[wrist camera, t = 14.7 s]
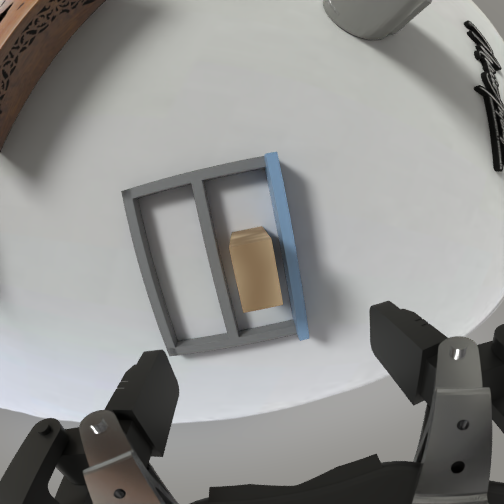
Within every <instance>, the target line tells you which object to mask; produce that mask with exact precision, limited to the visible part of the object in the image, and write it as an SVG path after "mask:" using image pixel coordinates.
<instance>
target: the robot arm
mask: <svg viewBox="0 0 504 504" xmlns="http://www.w3.org/2000/svg"><path fill="white" fill-rule="evenodd" d="M431 2H432V0H323V6H324V9H325V11H326V13H327V14H328V16H329V17H330V18H331V19H332V21H333V22H335V23H336V24H337V25H338V26H339V27H341V28H342V29H344V30H345V31H347V32H349V33H351V34H352V35H355V36H357V37H360V38H364V39H369V40H379V39H382V38H385V37H386V36H387V35H388V34H396V33H397V32H398V31H399V30H400V29H402V28H403V27H404V26H405V25H406V24H407V23H408V22H409V21H411V20H412V19H413V18H414V17H415V16H416V15H417V14H419V13H420V12H421V11H422V10H423V9H424V8H426V7H427V6H428V5H429V4H430V3H431ZM370 343H371V348H372V351H373V353H374V355H375V356H376V357H377V359H378V360H379V361H380V363H381V364H382V365H383V366H384V368H385V369H386V370H387V372H388V373H389V374H390V375H391V377H392V378H393V379H394V381H395V382H396V383H397V384H398V386H399V387H400V388H401V390H402V391H403V392H404V393H405V395H406V396H407V398H408V399H409V400H410V402H412V404H413V405H415V404H418V403H420V402H422V401H424V400H425V401H426V402H427V407H426V411H425V416H424V421H423V426H422V431H421V435H420V440H419V444H418V447H417V451H416V454H415V457H414V461H413V462H408V461H392V462H383V463H381V462H380V460H379V458H378V456H377V454H374V455H371V456H369V457H366V458H363V459H360V460H357V461H354V462H351V463H348V464H345V465H342V466H338V467H336V468H334V469H332V470H330V471H328V472H326V473H324V474H322V475H320V476H317V477H315V478H313V479H311V480H309V481H307V482H304V483H302V484H299V485H296V486H270V485H269V486H268V485H254V484H248V485H237V486H223V487H210V489H209V497H208V498H204V499H201V500H198V501H195V502H193V503H190V504H504V483H500V482H495V481H489V477H490V467H491V454H492V420H493V421H494V422H495V423H496V424H497V426H498V427H499V428H500V429H501V431H502V432H503V433H504V324H502V325H500V326H498V327H497V328H496V330H495V333H494V337H493V341H490V342H487V343H483V344H479V345H477V344H476V343H475V342H474V341H473V340H471V339H469V338H466V337H460V336H457V337H451V338H447V337H446V336H445V335H443V334H442V333H441V332H440V331H438V330H437V329H436V328H434V327H433V326H432V325H430V324H428V322H426V321H425V320H424V319H422V318H421V317H420V316H418V315H417V314H416V313H414V312H412V311H409V310H406V309H399V308H398V307H397V306H396V305H394V304H393V303H392V302H390V301H386V302H383V303H379V304H376V305H373V306H371V307H370ZM178 397H179V386H178V382H177V379H176V377H175V375H174V372H173V370H172V368H171V365H170V363H169V360H168V358H167V356H166V353H165V352H164V351H163V350H155V351H146V352H143V354H142V356H141V357H140V359H139V361H138V363H137V365H134V366H132V367H131V368H130V369H129V370H128V371H127V372H126V373H125V375H124V376H123V378H122V380H121V382H120V383H119V385H118V387H117V389H116V390H115V392H114V394H113V395H112V397H111V399H110V401H109V403H108V404H107V406H106V408H105V410H99V411H95V412H93V413H90V414H89V415H87V416H86V417H85V418H84V419H83V420H82V421H81V423H80V426H79V427H78V428H71V429H64V428H63V427H62V425H61V424H60V422H59V421H58V420H56V419H54V418H47V419H44V420H42V421H40V422H38V423H37V424H36V425H35V426H34V427H33V428H32V430H31V431H30V433H29V434H28V436H27V437H26V439H25V440H24V442H23V444H22V445H21V447H20V448H19V450H18V452H17V453H16V455H15V457H14V458H13V460H12V462H11V463H10V465H9V467H8V468H7V470H6V472H5V474H4V476H3V477H2V479H1V481H0V504H179V503H178V502H177V501H176V500H175V499H174V497H173V496H172V494H171V493H170V492H169V490H168V489H167V488H166V486H165V485H164V483H163V482H162V480H161V479H160V478H159V476H158V475H157V473H156V472H155V470H154V468H153V467H152V466H151V464H150V463H149V460H150V457H151V456H155V457H156V456H157V457H163V454H164V451H165V446H166V443H167V439H168V435H169V431H170V427H171V423H172V419H173V416H174V412H175V408H176V405H177V401H178ZM55 467H56V468H57V469H58V470H59V471H60V472H61V473H62V474H63V475H64V477H63V479H62V482H61V484H60V486H59V489H58V491H57V494H56V496H55V499H54V498H53V497H52V496H51V494H50V493H49V490H48V482H49V480H50V478H51V476H52V473H53V471H54V469H55Z"/></svg>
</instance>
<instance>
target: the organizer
mask: <svg viewBox="0 0 504 504" xmlns="http://www.w3.org/2000/svg"><path fill="white" fill-rule="evenodd" d="M263 168H265V171H266V176H267V181H268V186H269V191H270V196H271V201H272V206H273V211H274V216H275V221H276V226H277V231H278V237H279V242H280V247H281V253H282V258H283V264H284V269H285V275H286V280H287V286H288V292H289V298H290V303H291V309H292V315H293V320H289V321H285V322H280V323H276V324H271V325H266V326H261V327H256V328H251V329H246V330H241V331H239V330H238V326H237V323H236V319H235V315H234V311H233V307H232V303H231V299H230V295H229V290H228V286H227V282H226V278H225V274H224V270H223V265H222V261H221V257H220V253H219V248H218V244H217V239H216V235H215V231H214V226H213V222H212V217H211V213H210V208H209V203H208V199H207V194H206V189H205V184H204V181H206V180H210V179H214V178H219V177H223V176H228V175H233V174H238V173H242V172H247V171H253V170H258V169H263ZM189 184H192V189H193V194H194V198H195V203H196V208H197V212H198V217H199V221H200V226H201V230H202V234H203V239H204V243H205V247H206V252H207V256H208V260H209V264H210V268H211V272H212V276H213V280H214V284H215V288H216V292H217V296H218V300H219V303H220V307H221V311H222V315H223V318H224V322H225V326H226V330H227V333H225V334H219V335H213V336H207V337H201V338H195V339H188V340H181V341H178V340H177V338H176V335H175V332H174V329H173V326H172V323H171V320H170V317H169V314H168V311H167V308H166V305H165V301H164V298H163V295H162V292H161V288H160V285H159V282H158V278H157V275H156V271H155V268H154V264H153V260H152V257H151V253H150V249H149V245H148V241H147V237H146V233H145V229H144V225H143V220H142V216H141V211H140V207H139V202H138V198H140V197H144V196H147V195H151V194H155V193H158V192H162V191H166V190H169V189H173V188H177V187H181V186H185V185H189ZM121 192H122V197H123V202H124V206H125V211H126V216H127V220H128V224H129V229H130V233H131V237H132V241H133V245H134V249H135V252H136V256H137V260H138V263H139V267H140V271H141V274H142V277H143V281H144V284H145V287H146V291H147V294H148V297H149V300H150V303H151V306H152V309H153V312H154V315H155V318H156V321H157V324H158V327H159V330H160V332H161V335H162V338H163V340H164V343H165V346H166V348H167V351H168V354H169V356H176V355H184V354H192V353H199V352H205V351H212V350H218V349H224V348H230V347H236V346H241V345H247V344H252V343H257V342H262V341H267V340H272V339H276V338H281V337H285V336H290V335H294V334H297V335H298V337H299V340H300V341H301V340H305V339H309V331H308V323H307V316H306V309H305V303H304V296H303V290H302V283H301V277H300V271H299V265H298V259H297V253H296V247H295V241H294V235H293V230H292V224H291V219H290V214H289V208H288V203H287V198H286V193H285V188H284V183H283V178H282V173H281V168H280V163H279V159H278V154H277V152H272V153H267V154H265V156H262V157H257V158H251V159H246V160H241V161H236V162H231V163H227V164H222V165H217V166H213V167H209V168H204V169H200V170H196V171H192V172H188V173H184V174H180V175H176V176H172V177H169V178H165V179H161V180H158V181H154V182H151V183H147V184H144V185H140V186H137V187H134V188H131V189H127V190H124V191H121Z"/></svg>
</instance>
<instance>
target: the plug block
mask: <svg viewBox="0 0 504 504" xmlns="http://www.w3.org/2000/svg"><path fill="white" fill-rule="evenodd" d="M229 251H230V255H231V260H232V264H233V269H234V274H235V278H236V283H237V287H238V291H239V296H240V300H241V305H242V309H243V313H245V312H250V311H255V310H261V309H265V308H270V307H275V306H280V305H283V301H282V295H281V289H280V284H279V278H278V272H277V267H276V261H275V256H274V250H273V245H272V239H271V238H270V236H269V235H268V234H267V232H266V231H265V230H264V228H263V227H257V228H252V229H247V230H242V231H237V232H232V234H231V239H230V244H229Z"/></svg>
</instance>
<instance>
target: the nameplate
mask: <svg viewBox="0 0 504 504" xmlns="http://www.w3.org/2000/svg"><path fill="white" fill-rule="evenodd" d="M464 25H465V27H466V28H468V29H470V31H468V32H467V35H468V36H469V37H470V38H471V39H472V40H473V41H474V42H475V44H476V45H477V46H475V47H476V49H477V50H476V51H475V52H474V56H475V58H476V59H477V60H478V59H480V61H481V63H482V66H483V70H484V72H483V73H481V78H482V81H483V83H484V85H485V87H486V88H484V87H483V86H480V85H479V86H476V87H474V90H475V91H476V92H478V93H480V94H481V95H482V96H483V97H484V102H485V107H486V112H487V117H488V123H489V129H490V136H491V144H492V154H493V166H494V170H495V171H502V170H503V166H504V104H503V103H502V101H501V99H500V95H499V92H498V87H499V84H498V82H497V81H496V80H495V79H496V78H495V75H494V74H496V71H498V70H501V66H500V65H499V63H498V61H497V60H496V58H495V57H494V55H493V51H492V49H491V47H490V45H489V44H488V42H487V41H486V39H485V38H484V36H483V35H482V34H481V32H480V31H479V30H478V29H477V28H476V27H475V26H474V25H473V24H472V23H471V22H470V21H466V22H464ZM495 70H496V71H495ZM502 162H503V163H502Z"/></svg>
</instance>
